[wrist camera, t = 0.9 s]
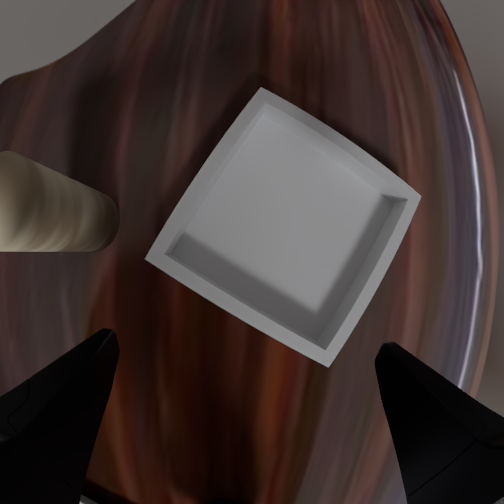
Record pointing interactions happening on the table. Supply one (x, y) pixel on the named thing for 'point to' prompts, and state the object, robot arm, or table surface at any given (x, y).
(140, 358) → the table surface
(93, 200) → the birch peg
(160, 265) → the grey bin
